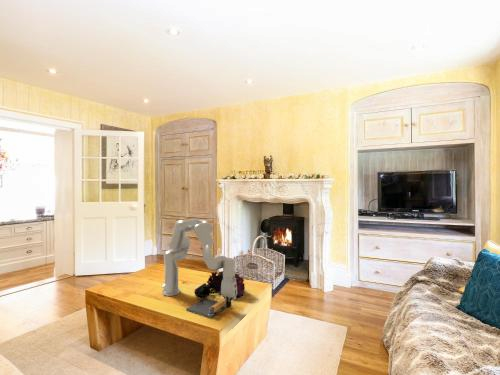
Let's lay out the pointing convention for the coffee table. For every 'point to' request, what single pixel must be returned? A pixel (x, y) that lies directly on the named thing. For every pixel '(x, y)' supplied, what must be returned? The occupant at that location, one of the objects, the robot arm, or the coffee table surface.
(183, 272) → the coffee table surface
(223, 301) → the bar
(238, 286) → the flower arrangement
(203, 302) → the tray
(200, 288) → the dark grey toy house
